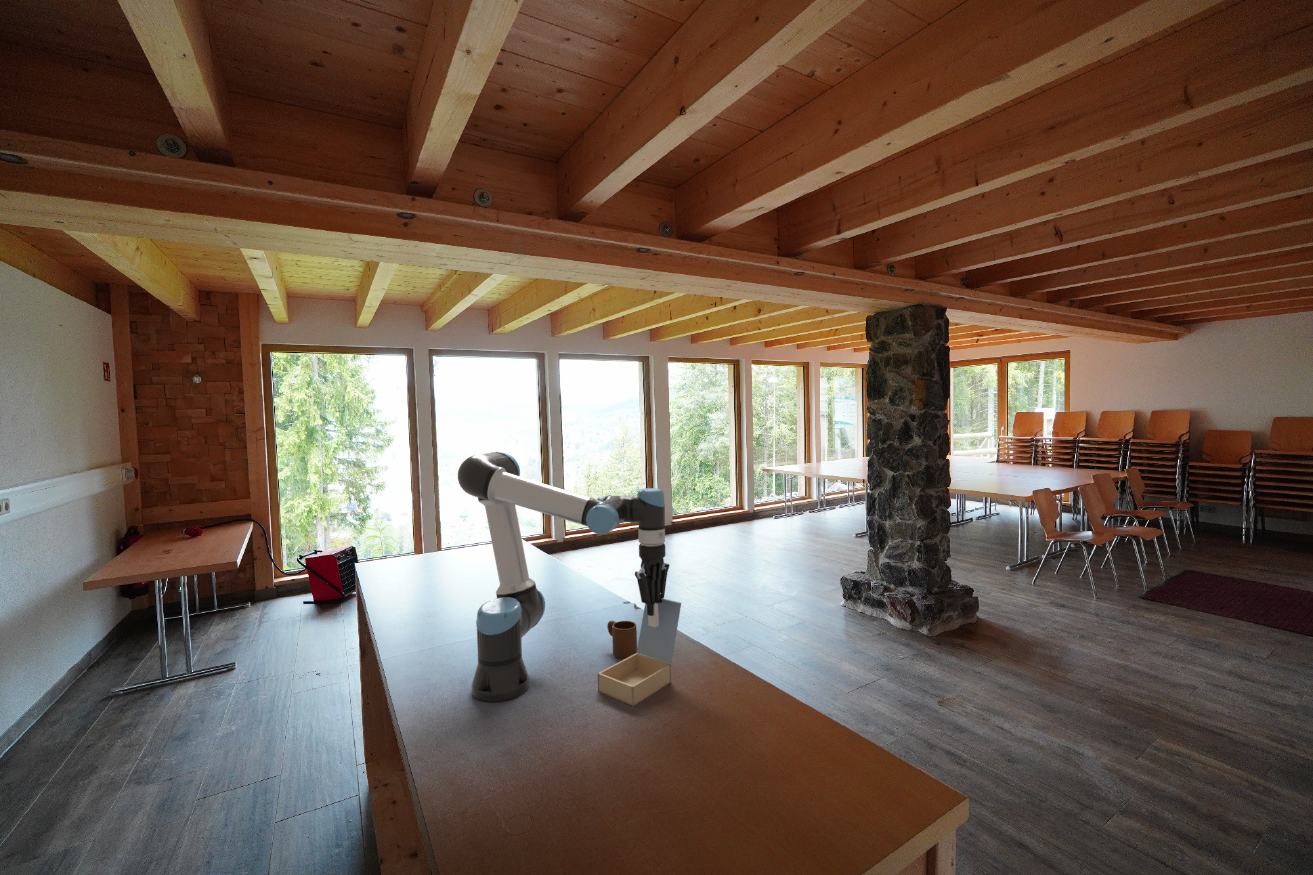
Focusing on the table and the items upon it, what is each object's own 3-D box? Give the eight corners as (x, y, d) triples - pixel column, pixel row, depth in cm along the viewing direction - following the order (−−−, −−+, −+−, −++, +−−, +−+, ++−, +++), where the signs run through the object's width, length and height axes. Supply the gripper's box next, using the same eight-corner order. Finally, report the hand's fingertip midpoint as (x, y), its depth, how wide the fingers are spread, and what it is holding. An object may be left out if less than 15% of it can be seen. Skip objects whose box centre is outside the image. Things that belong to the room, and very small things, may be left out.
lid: (677, 602, 155) (681, 602, 157) (642, 593, 163) (647, 594, 165) (667, 664, 152) (671, 663, 153) (632, 652, 160) (637, 652, 161)
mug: (599, 650, 175) (598, 621, 175) (617, 643, 180) (617, 615, 180) (623, 662, 166) (622, 631, 166) (642, 654, 172) (641, 624, 171)
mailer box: (633, 706, 141) (632, 687, 141) (597, 691, 149) (597, 673, 149) (670, 682, 153) (670, 664, 153) (636, 669, 161) (636, 653, 161)
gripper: (647, 549, 148) (648, 635, 149) (676, 540, 158) (677, 621, 159) (626, 545, 153) (628, 629, 154) (656, 537, 163) (657, 616, 164)
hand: (653, 625), depth 157 cm, fingers closed
